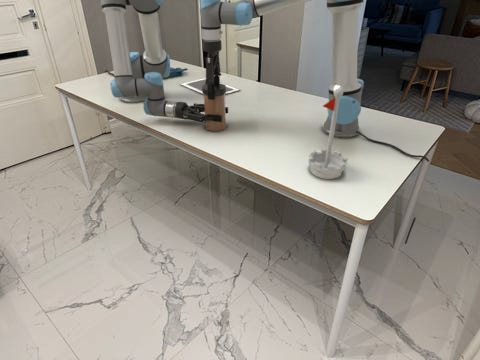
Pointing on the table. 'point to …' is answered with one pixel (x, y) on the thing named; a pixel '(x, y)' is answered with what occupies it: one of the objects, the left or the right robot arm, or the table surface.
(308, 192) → the table surface
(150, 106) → the left robot arm
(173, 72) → the submachine gun
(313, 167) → the flag stand
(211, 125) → the jar
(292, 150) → the table surface
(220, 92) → the lid
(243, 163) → the table surface
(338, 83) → the right robot arm
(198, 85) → the tablet
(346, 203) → the table surface
